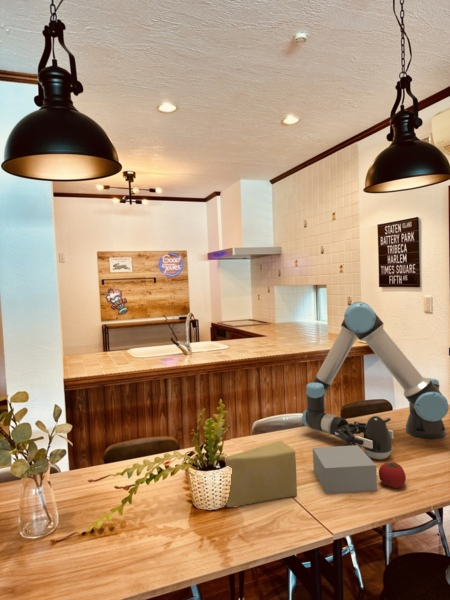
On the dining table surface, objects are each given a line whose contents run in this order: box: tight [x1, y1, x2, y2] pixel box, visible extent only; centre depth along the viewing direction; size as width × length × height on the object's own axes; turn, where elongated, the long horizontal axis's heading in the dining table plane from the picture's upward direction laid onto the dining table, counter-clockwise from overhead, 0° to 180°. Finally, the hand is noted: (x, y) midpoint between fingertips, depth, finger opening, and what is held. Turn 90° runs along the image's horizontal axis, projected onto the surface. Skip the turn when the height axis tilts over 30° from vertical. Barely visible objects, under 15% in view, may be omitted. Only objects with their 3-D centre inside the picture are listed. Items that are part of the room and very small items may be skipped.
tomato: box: [378, 461, 407, 489], centre depth 125 cm, size 8×8×7 cm
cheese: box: [225, 440, 298, 508], centre depth 121 cm, size 22×10×15 cm, turn 113°
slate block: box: [312, 444, 378, 495], centre depth 130 cm, size 16×16×8 cm
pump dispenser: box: [362, 415, 393, 461], centre depth 146 cm, size 10×10×15 cm
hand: (382, 439), depth 144 cm, fingers open, 13 cm apart
